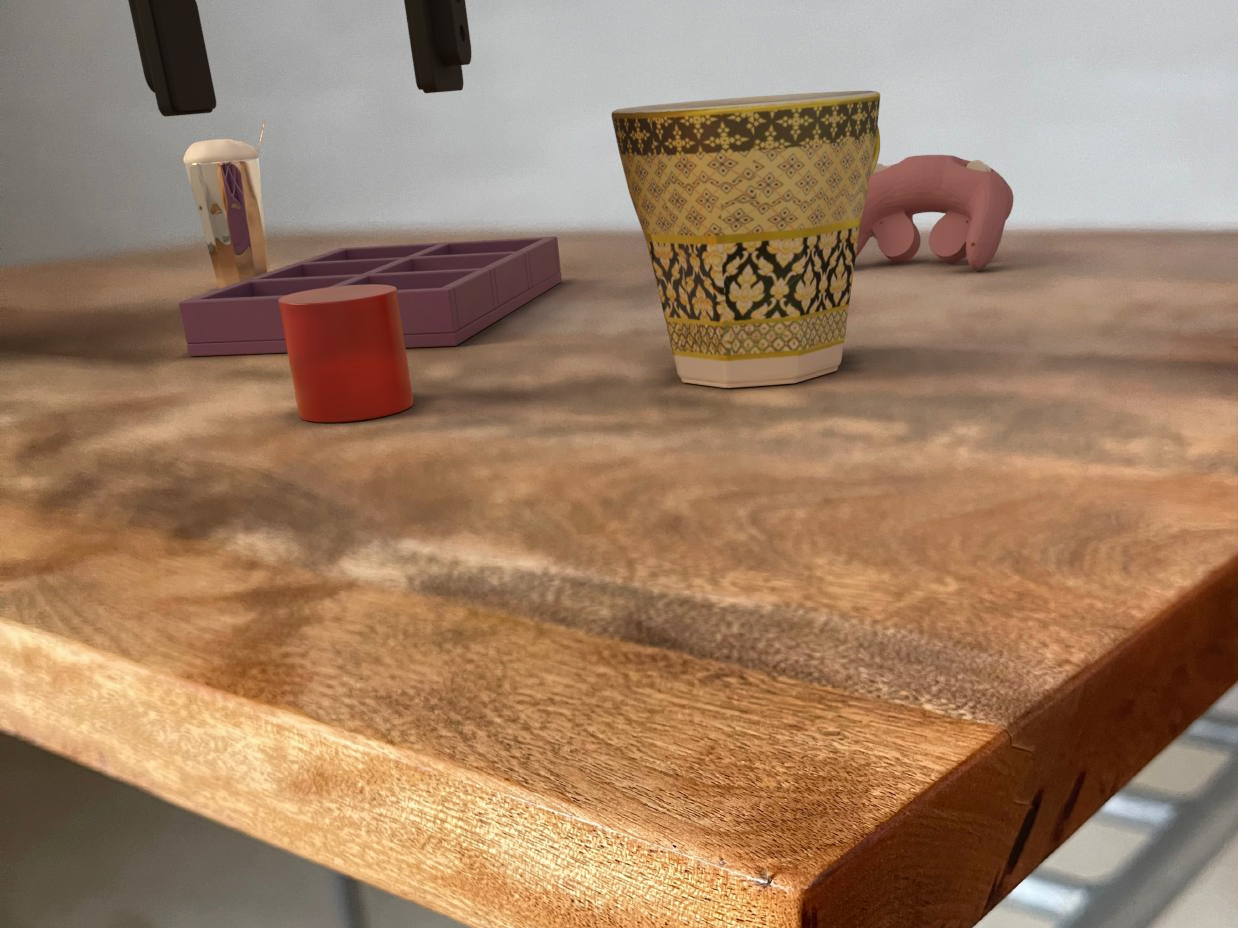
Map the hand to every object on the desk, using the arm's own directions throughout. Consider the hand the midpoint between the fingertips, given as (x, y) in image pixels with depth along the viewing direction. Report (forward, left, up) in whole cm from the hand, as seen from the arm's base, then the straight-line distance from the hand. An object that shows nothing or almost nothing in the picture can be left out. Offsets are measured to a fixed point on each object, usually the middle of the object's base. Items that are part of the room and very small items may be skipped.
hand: (313, 103), depth 51 cm
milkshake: (-22, +37, -11) cm, 45 cm away
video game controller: (+21, +33, -11) cm, 41 cm away
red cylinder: (0, 0, -11) cm, 11 cm away
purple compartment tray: (-7, +23, -11) cm, 27 cm away
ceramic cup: (+16, +6, -11) cm, 20 cm away
